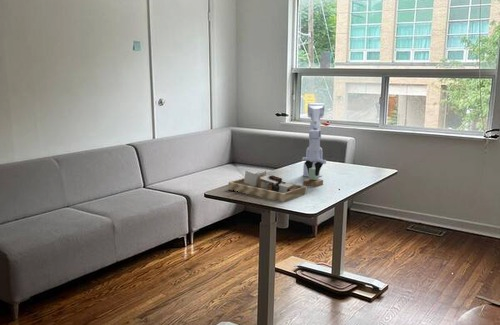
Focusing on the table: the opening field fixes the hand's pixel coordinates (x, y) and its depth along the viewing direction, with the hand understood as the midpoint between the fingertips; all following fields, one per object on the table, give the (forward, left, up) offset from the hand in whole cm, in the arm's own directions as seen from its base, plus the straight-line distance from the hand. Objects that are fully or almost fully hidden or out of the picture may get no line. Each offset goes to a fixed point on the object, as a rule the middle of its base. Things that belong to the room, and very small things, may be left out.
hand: (313, 174), depth 268 cm
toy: (-8, -28, -6) cm, 30 cm away
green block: (0, 0, -2) cm, 2 cm away
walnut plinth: (0, 0, -6) cm, 6 cm away
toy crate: (-10, -30, -6) cm, 32 cm away
